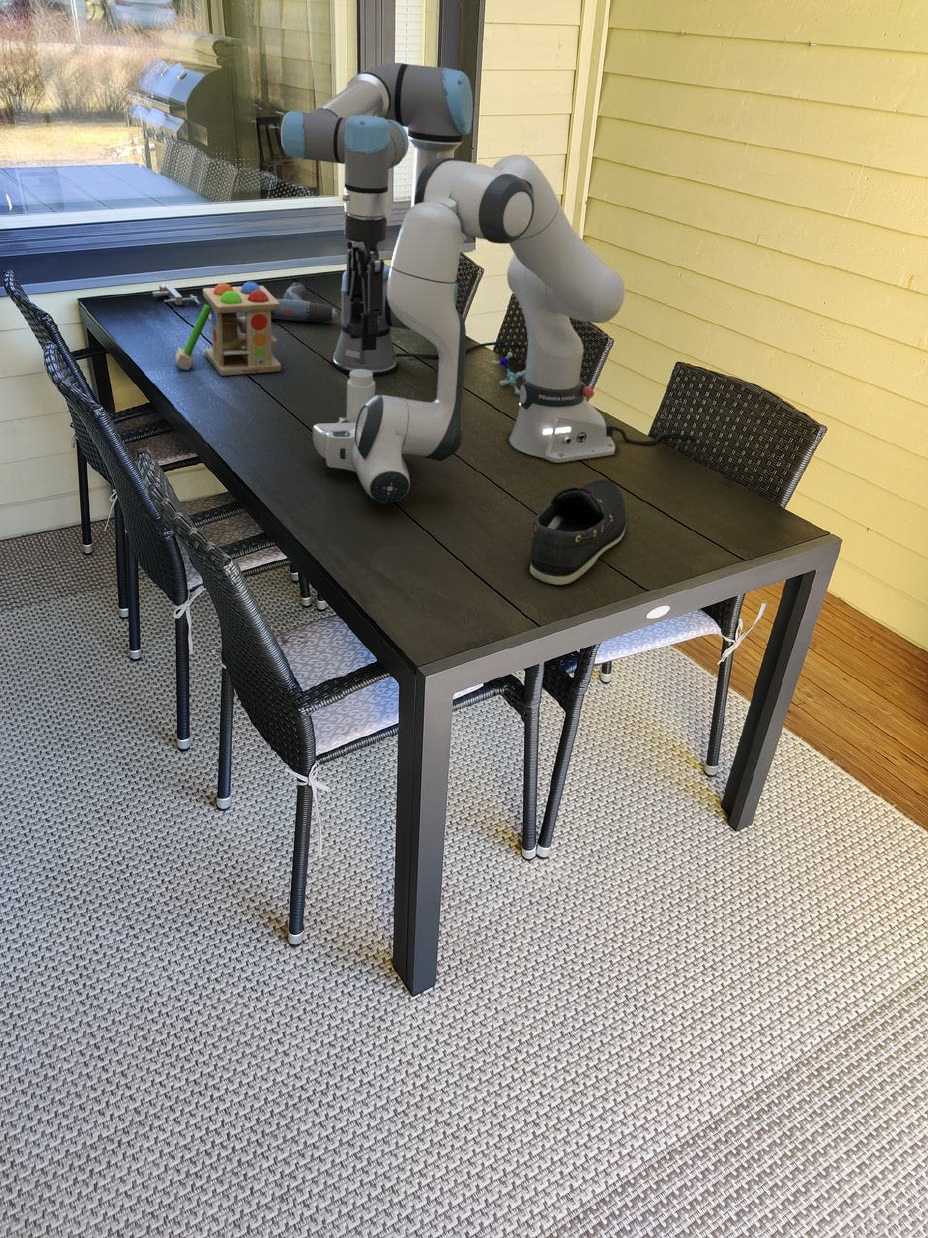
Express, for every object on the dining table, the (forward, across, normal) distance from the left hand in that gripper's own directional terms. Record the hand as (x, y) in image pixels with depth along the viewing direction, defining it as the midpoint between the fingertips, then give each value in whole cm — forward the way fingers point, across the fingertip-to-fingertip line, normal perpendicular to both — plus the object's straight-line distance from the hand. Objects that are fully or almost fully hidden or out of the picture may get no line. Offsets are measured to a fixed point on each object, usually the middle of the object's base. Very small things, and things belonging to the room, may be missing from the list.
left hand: (362, 343), depth 186 cm
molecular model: (+23, -24, +47) cm, 57 cm away
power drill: (+23, -86, +15) cm, 90 cm away
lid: (-4, 0, 0) cm, 4 cm away
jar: (+22, +1, 0) cm, 22 cm away
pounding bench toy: (+23, -52, -15) cm, 58 cm away
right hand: (+16, 0, 0) cm, 16 cm away
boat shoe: (+22, +46, +24) cm, 56 cm away
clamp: (+23, -102, -17) cm, 106 cm away
